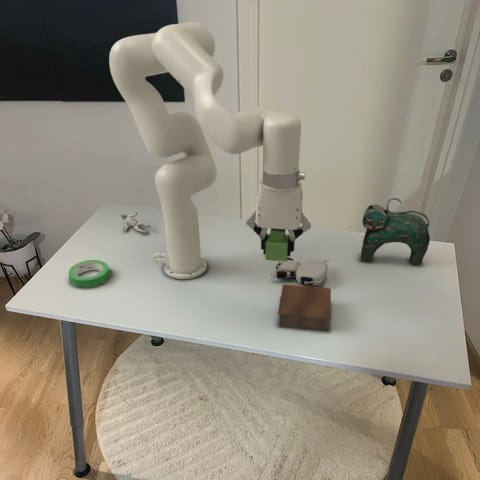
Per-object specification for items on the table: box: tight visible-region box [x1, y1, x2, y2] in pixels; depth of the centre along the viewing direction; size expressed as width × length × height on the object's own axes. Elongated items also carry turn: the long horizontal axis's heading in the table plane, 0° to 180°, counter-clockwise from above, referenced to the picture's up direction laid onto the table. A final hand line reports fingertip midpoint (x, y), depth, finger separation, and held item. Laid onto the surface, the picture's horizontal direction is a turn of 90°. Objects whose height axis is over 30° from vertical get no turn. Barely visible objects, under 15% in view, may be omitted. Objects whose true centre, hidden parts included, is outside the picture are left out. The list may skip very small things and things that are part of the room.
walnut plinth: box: [277, 284, 332, 332], centre depth 118 cm, size 13×13×4 cm
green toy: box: [264, 228, 289, 262], centre depth 108 cm, size 5×5×7 cm
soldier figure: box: [120, 211, 151, 235], centre depth 156 cm, size 8×5×12 cm
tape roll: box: [68, 259, 111, 289], centre depth 133 cm, size 11×11×3 cm
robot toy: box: [270, 256, 331, 287], centre depth 132 cm, size 12×4×15 cm
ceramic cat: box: [360, 197, 431, 266], centre depth 134 cm, size 20×6×20 cm, turn 80°
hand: (277, 252), depth 109 cm, fingers closed on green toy, 5 cm apart
